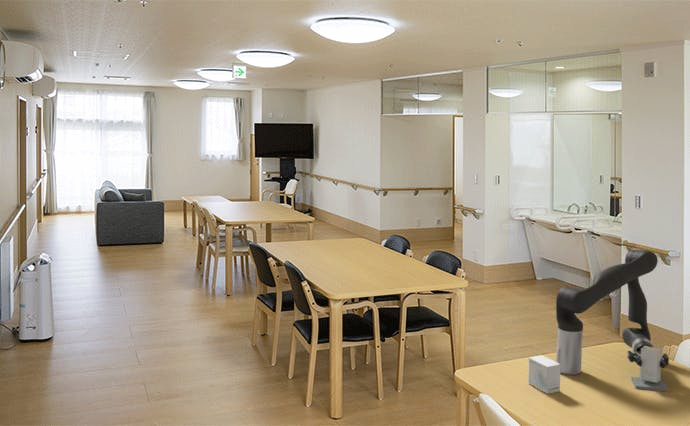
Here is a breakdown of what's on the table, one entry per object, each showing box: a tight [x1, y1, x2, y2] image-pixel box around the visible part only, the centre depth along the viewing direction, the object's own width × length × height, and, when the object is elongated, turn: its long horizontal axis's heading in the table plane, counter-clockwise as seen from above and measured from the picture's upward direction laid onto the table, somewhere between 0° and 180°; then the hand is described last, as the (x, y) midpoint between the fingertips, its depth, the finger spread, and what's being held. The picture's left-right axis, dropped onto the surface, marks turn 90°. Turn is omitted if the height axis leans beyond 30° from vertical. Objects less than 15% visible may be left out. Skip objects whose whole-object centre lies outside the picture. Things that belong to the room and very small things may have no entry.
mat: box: [631, 376, 669, 392], centre depth 239 cm, size 11×9×1 cm
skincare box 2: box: [639, 346, 662, 383], centre depth 238 cm, size 6×4×12 cm
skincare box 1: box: [528, 354, 561, 395], centre depth 236 cm, size 10×6×10 cm, turn 23°
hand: (651, 364), depth 236 cm, fingers closed on skincare box 2, 7 cm apart
